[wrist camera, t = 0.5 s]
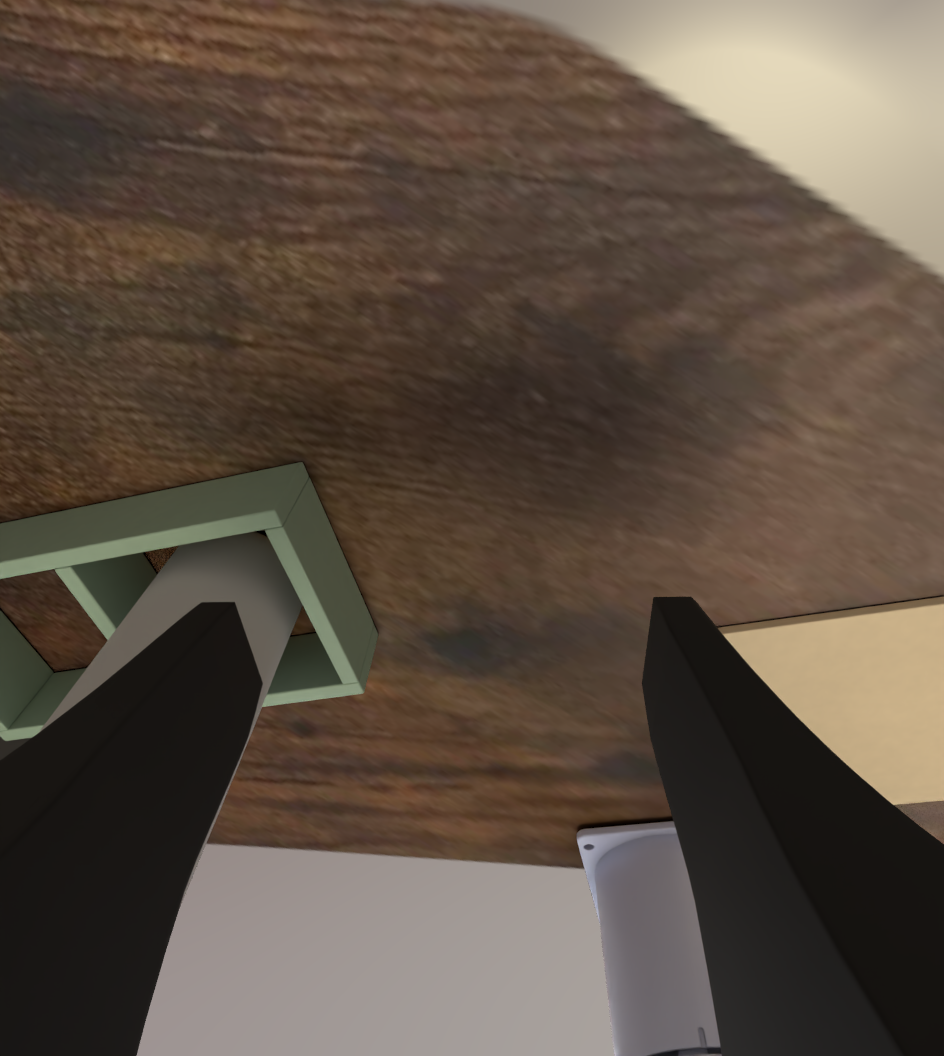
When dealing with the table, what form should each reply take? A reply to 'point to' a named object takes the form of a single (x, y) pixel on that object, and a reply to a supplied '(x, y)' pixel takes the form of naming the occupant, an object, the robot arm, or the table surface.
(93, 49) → the table surface
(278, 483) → the divided storage tray
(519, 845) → the table surface
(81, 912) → the robot arm
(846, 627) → the mat
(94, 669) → the beverage can
